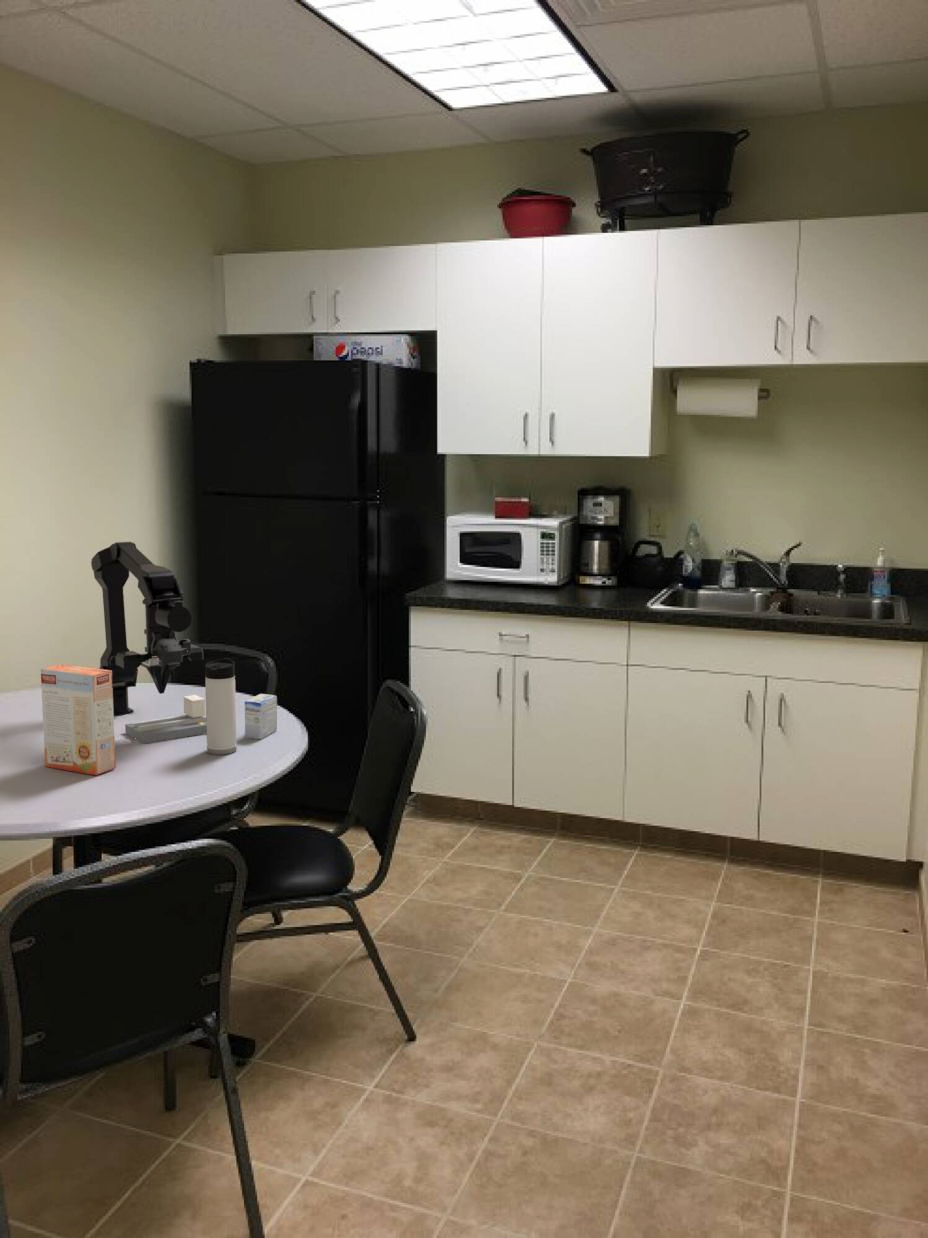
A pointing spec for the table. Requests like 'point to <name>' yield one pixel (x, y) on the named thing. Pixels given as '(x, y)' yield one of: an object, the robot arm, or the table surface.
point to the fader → (194, 706)
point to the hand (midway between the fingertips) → (161, 693)
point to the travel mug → (220, 706)
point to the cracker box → (78, 719)
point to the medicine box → (260, 716)
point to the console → (166, 728)
